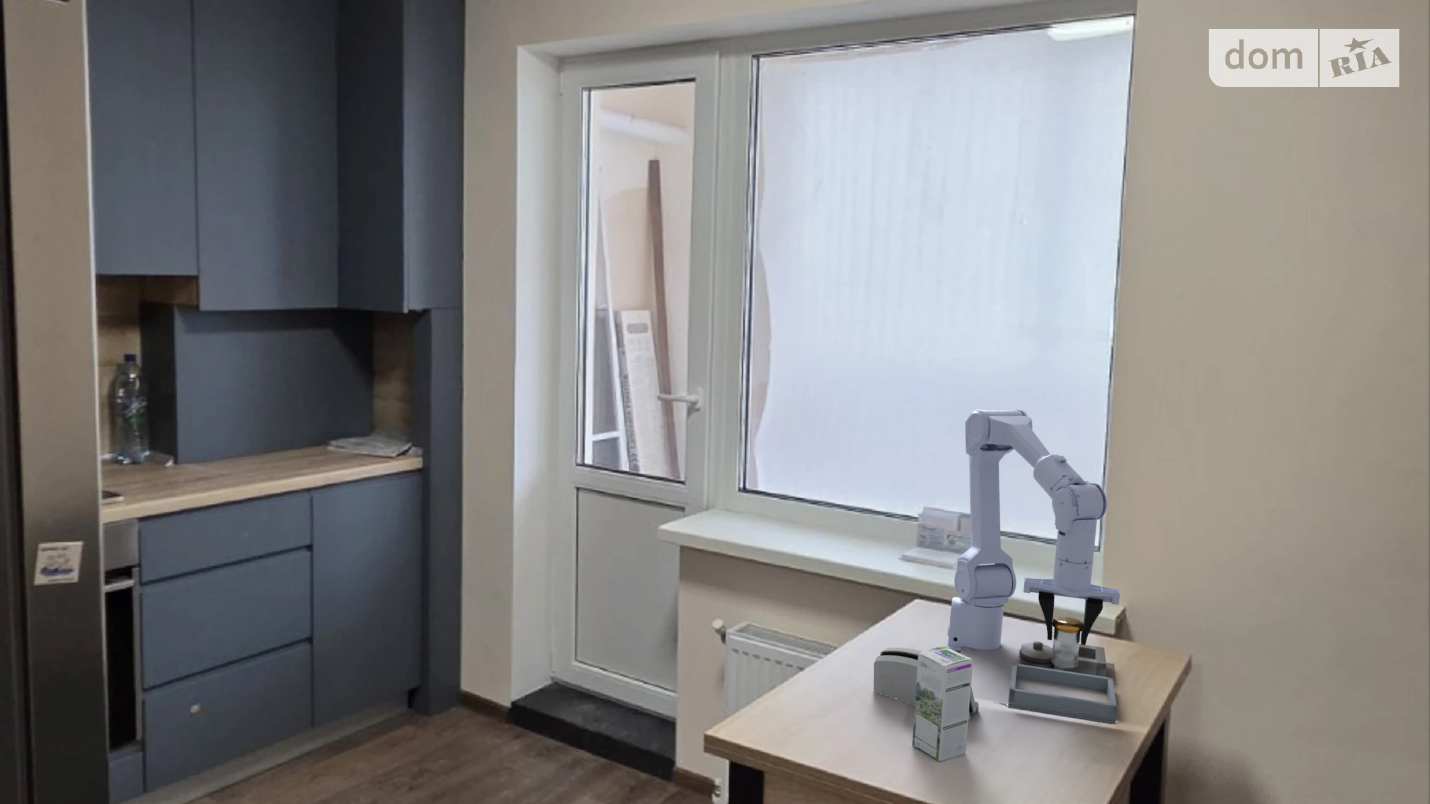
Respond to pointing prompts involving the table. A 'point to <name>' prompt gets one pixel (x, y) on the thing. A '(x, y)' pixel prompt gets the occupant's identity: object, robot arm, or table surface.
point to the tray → (1062, 701)
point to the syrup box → (942, 703)
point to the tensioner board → (1088, 663)
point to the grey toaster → (902, 675)
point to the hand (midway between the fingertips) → (1066, 640)
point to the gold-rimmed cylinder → (1066, 641)
